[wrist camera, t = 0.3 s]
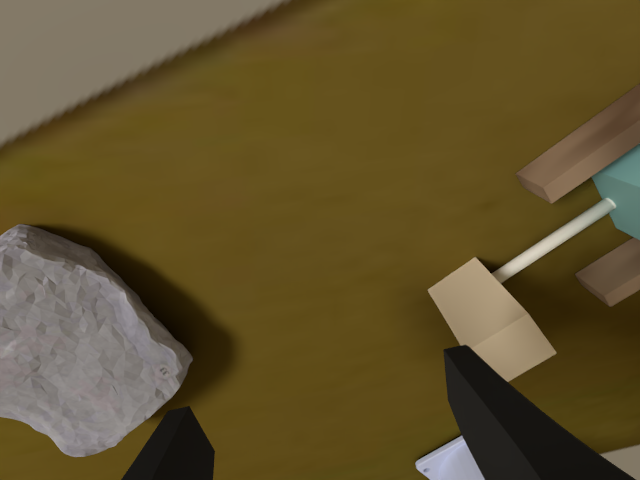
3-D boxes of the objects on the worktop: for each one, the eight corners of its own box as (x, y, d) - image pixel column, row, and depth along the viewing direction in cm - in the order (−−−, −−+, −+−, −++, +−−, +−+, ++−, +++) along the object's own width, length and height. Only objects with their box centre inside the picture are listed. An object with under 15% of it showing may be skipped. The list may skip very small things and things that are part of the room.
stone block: (43, 188, 19) (-83, 323, 19) (-10, 213, 14) (-170, 387, 15) (222, 314, 24) (118, 419, 24) (223, 362, 19) (96, 488, 20)
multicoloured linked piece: (685, 99, 17) (824, 114, 13) (707, 169, 19) (835, 203, 15) (421, 282, 21) (458, 344, 16) (460, 327, 23) (502, 394, 18)
